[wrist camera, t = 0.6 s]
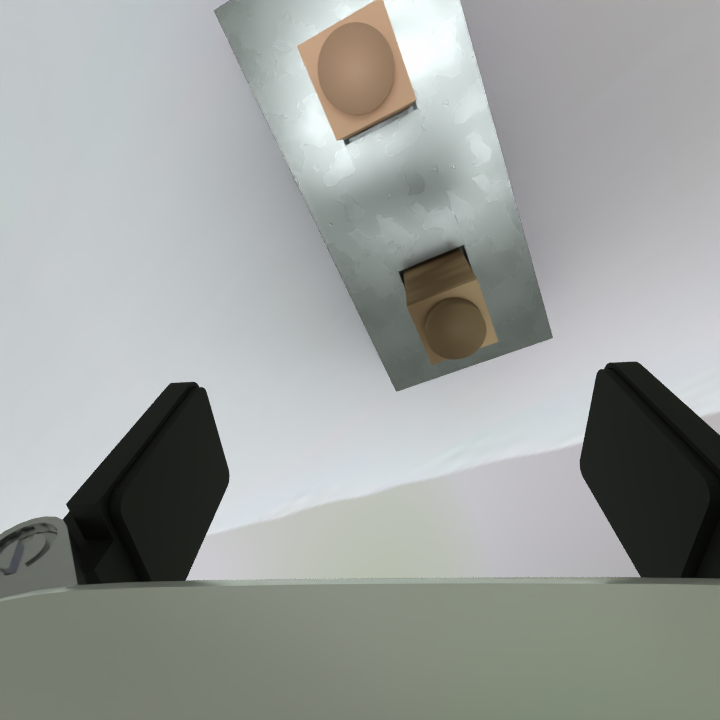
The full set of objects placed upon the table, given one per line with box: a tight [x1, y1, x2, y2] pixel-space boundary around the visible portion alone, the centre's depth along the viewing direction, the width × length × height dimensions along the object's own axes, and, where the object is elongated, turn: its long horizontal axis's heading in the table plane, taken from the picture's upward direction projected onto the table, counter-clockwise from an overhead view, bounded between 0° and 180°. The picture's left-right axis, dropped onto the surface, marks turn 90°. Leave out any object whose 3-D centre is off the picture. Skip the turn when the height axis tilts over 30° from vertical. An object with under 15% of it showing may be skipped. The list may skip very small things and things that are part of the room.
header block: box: [214, 0, 553, 392], centre depth 29 cm, size 12×26×5 cm, turn 24°
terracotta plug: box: [297, 0, 417, 141], centre depth 23 cm, size 4×4×11 cm
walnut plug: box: [404, 247, 498, 365], centre depth 28 cm, size 4×4×11 cm
